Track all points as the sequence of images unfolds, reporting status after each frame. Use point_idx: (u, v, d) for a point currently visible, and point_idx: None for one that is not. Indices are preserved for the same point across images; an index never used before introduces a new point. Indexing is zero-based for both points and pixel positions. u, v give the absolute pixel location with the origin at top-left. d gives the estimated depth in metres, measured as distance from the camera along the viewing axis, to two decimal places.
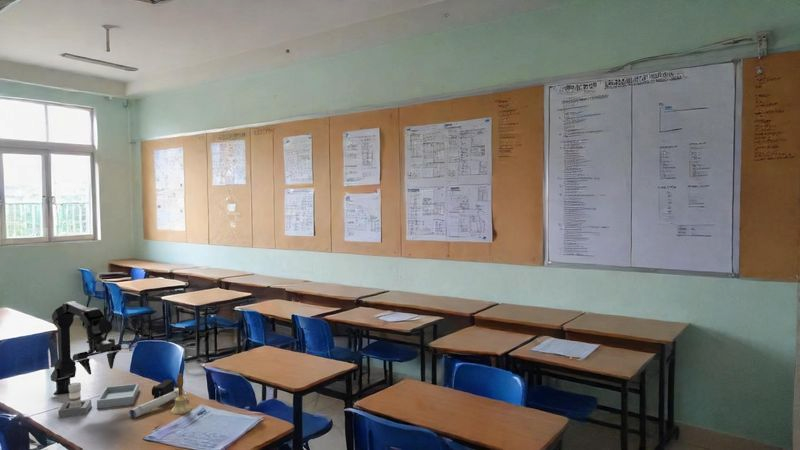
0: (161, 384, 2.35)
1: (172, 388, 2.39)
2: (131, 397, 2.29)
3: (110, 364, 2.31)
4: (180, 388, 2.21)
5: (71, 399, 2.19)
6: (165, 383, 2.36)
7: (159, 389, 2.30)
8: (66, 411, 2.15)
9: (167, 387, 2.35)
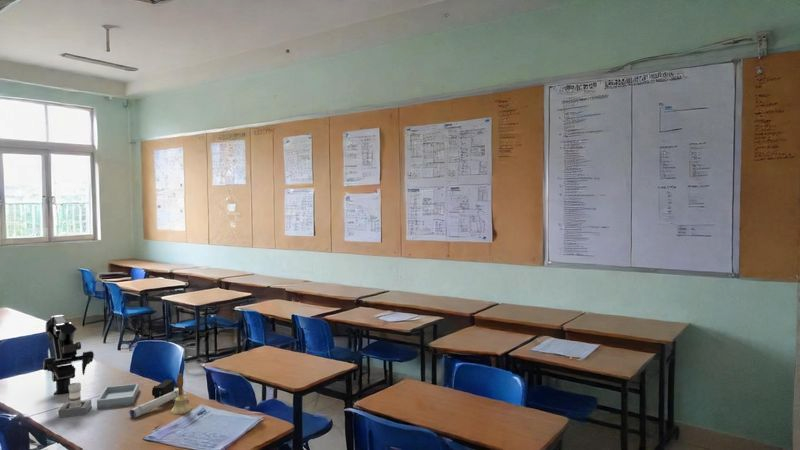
0: (161, 384, 2.35)
1: (172, 388, 2.39)
2: (131, 397, 2.29)
3: (82, 370, 2.30)
4: (180, 388, 2.21)
5: (71, 399, 2.19)
6: (165, 383, 2.36)
7: (160, 388, 2.30)
8: (66, 411, 2.15)
9: (167, 387, 2.35)
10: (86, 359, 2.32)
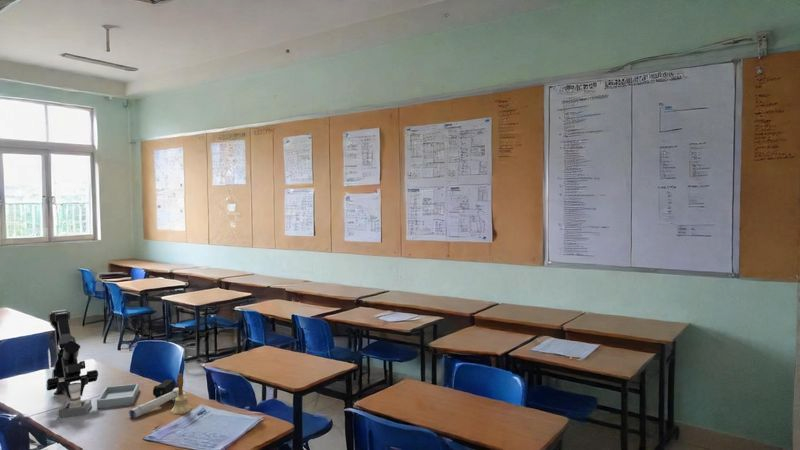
0: (162, 384, 2.35)
1: (173, 388, 2.39)
2: (131, 397, 2.29)
3: (80, 391, 2.22)
4: (180, 388, 2.21)
5: (71, 399, 2.19)
6: (166, 383, 2.36)
7: (161, 388, 2.31)
8: (66, 411, 2.15)
9: (168, 387, 2.35)
10: (84, 380, 2.24)
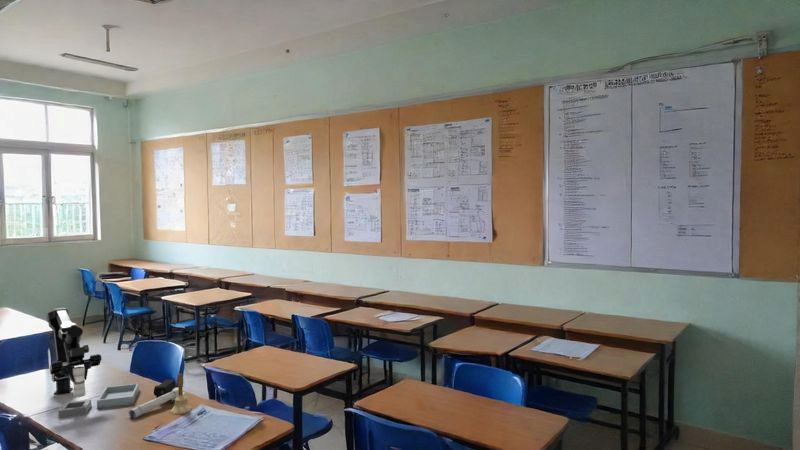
0: (163, 384, 2.35)
1: (173, 388, 2.40)
2: (131, 397, 2.29)
3: (84, 375, 2.23)
4: (180, 388, 2.21)
5: (75, 383, 2.19)
6: (167, 383, 2.36)
7: (162, 388, 2.31)
8: (66, 411, 2.15)
9: (169, 387, 2.35)
10: (88, 364, 2.25)
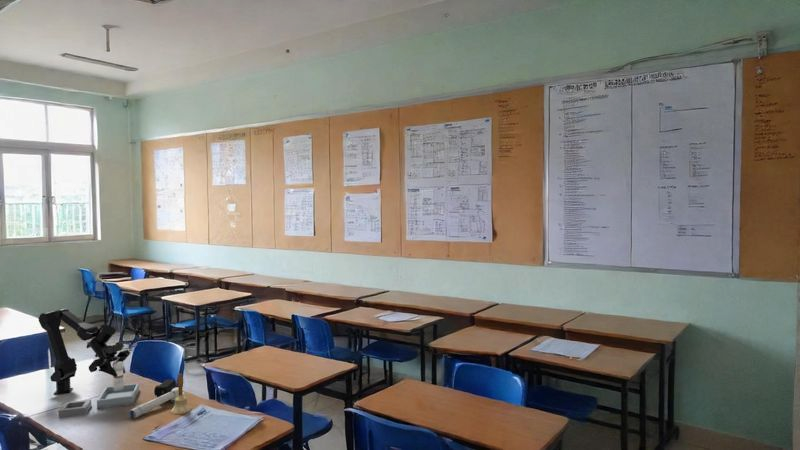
0: (163, 384, 2.35)
1: (174, 387, 2.40)
2: (131, 397, 2.29)
3: None
4: (180, 388, 2.21)
5: (117, 377, 2.33)
6: (167, 383, 2.36)
7: (162, 388, 2.31)
8: (66, 411, 2.15)
9: (169, 387, 2.35)
10: (122, 359, 2.39)
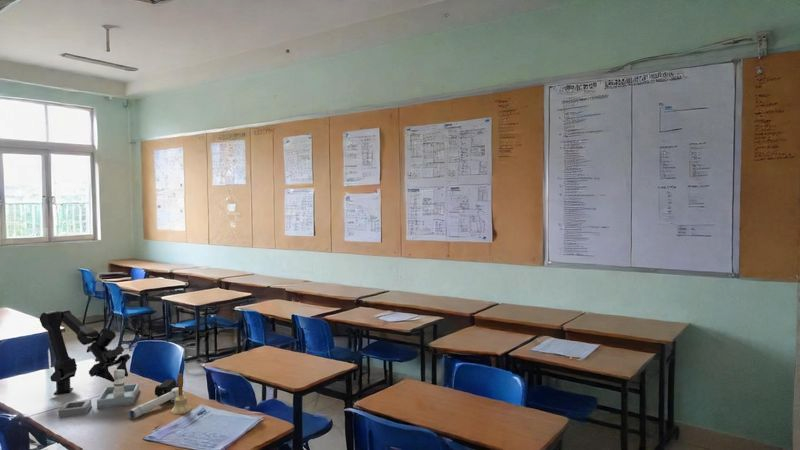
0: (164, 384, 2.35)
1: (174, 387, 2.40)
2: (131, 397, 2.29)
3: None
4: (180, 388, 2.21)
5: (118, 384, 2.33)
6: (167, 383, 2.37)
7: (163, 388, 2.31)
8: (66, 411, 2.15)
9: (170, 386, 2.35)
10: (125, 362, 2.40)
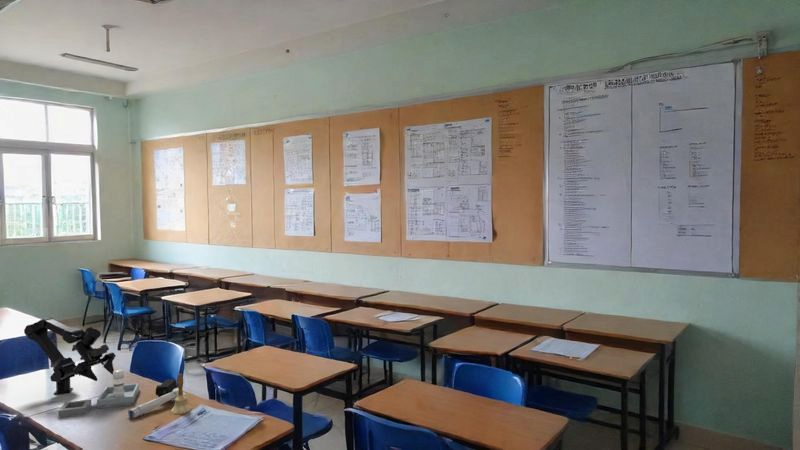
0: (164, 383, 2.35)
1: (174, 387, 2.40)
2: (131, 397, 2.29)
3: (111, 370, 2.42)
4: (180, 388, 2.21)
5: (118, 385, 2.33)
6: (168, 382, 2.37)
7: (164, 388, 2.31)
8: (66, 411, 2.15)
9: (171, 386, 2.36)
10: (111, 360, 2.44)
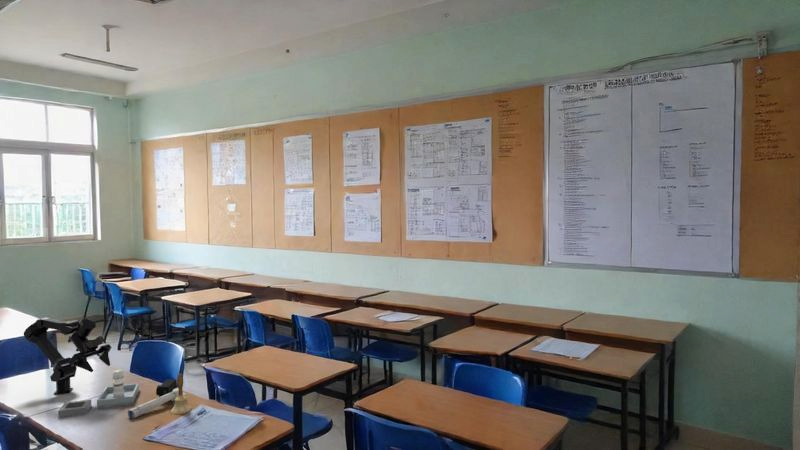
0: (165, 383, 2.35)
1: (175, 387, 2.40)
2: (131, 397, 2.29)
3: (107, 362, 2.42)
4: (180, 388, 2.21)
5: (117, 385, 2.33)
6: (169, 382, 2.37)
7: (164, 388, 2.31)
8: (66, 411, 2.15)
9: (171, 386, 2.36)
10: (107, 351, 2.44)
